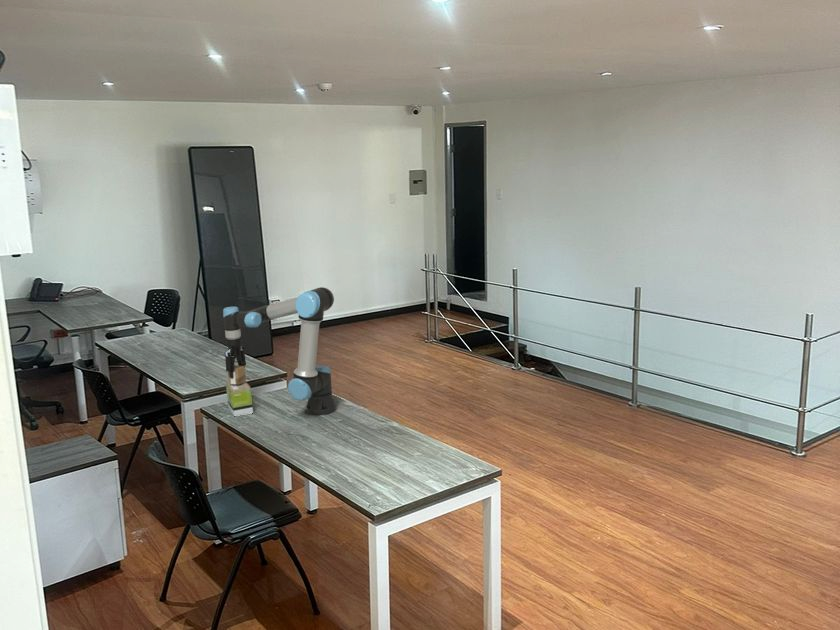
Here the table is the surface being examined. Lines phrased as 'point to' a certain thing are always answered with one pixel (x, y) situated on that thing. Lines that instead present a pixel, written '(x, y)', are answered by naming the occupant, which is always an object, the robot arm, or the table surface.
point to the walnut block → (238, 375)
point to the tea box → (239, 399)
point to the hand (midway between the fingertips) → (237, 381)
